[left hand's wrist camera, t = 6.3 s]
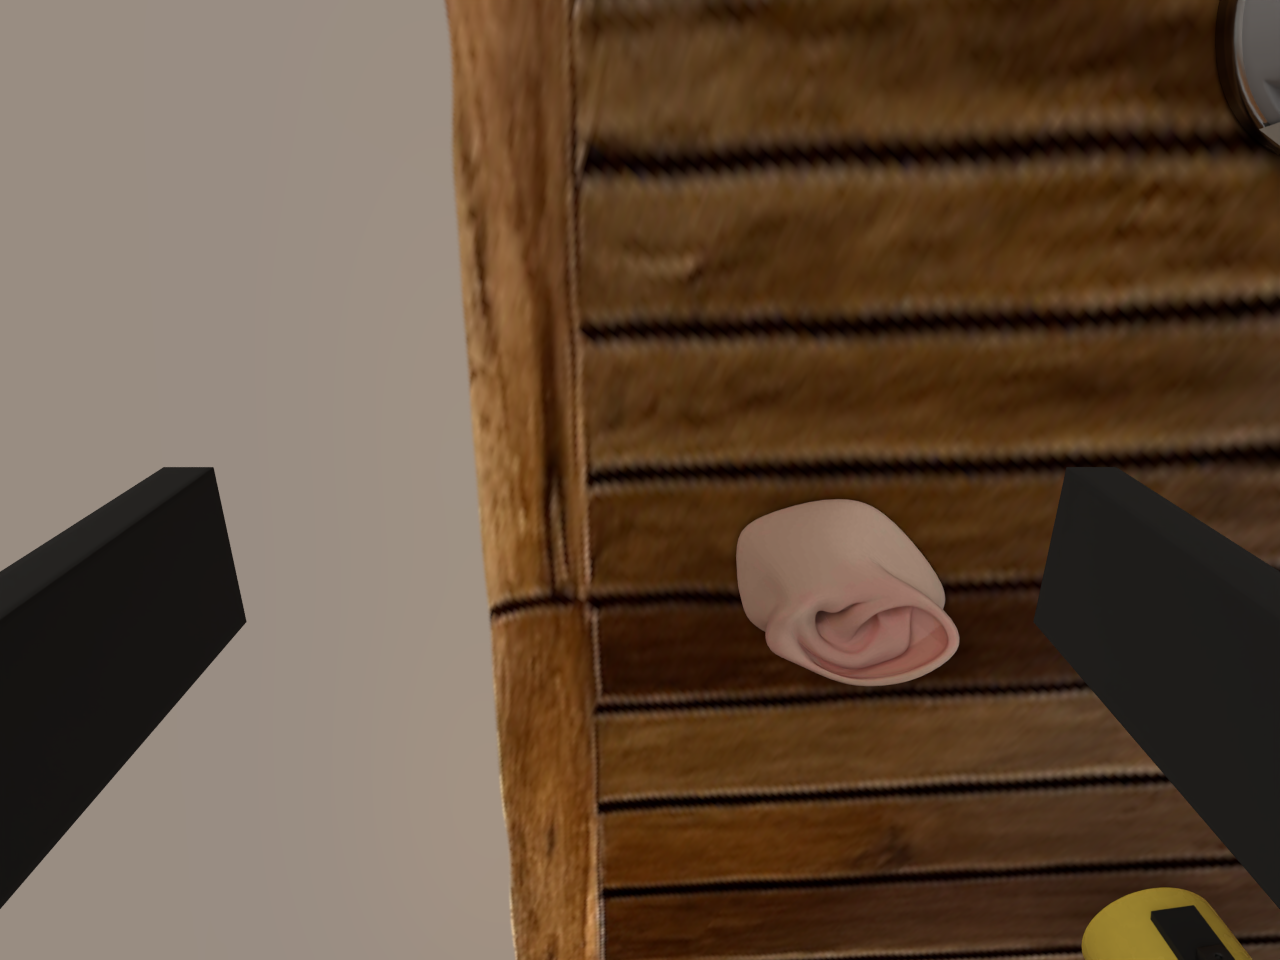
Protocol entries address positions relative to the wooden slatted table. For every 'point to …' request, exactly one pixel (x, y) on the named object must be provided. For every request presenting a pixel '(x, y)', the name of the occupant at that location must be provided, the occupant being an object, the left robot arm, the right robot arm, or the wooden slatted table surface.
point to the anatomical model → (844, 593)
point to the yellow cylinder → (1147, 927)
